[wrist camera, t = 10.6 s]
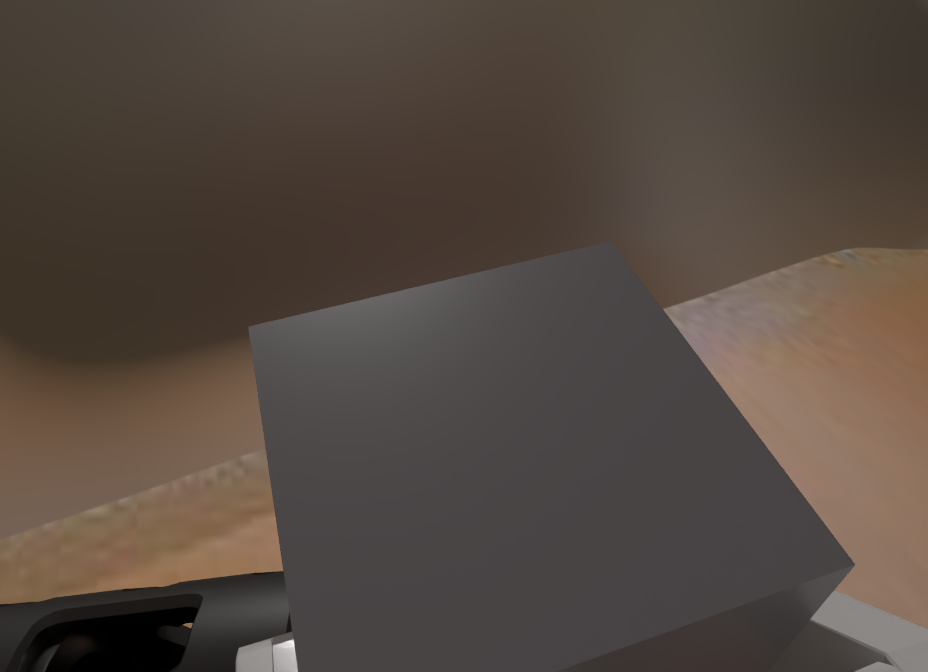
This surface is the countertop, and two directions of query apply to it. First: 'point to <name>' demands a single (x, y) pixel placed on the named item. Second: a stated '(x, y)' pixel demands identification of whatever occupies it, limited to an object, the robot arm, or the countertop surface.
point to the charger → (527, 484)
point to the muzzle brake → (146, 627)
